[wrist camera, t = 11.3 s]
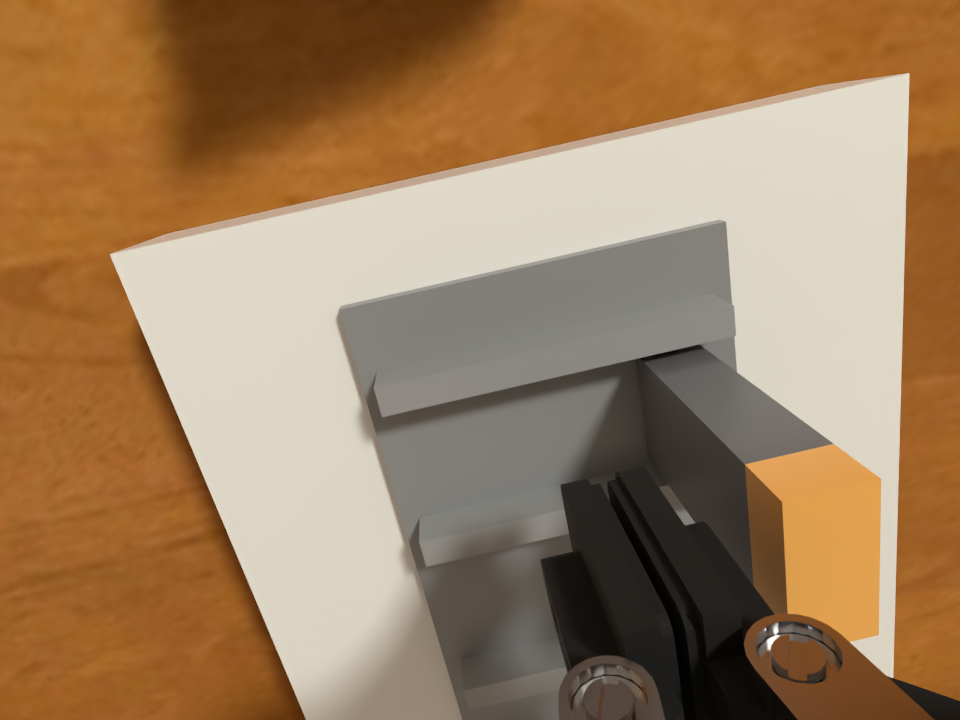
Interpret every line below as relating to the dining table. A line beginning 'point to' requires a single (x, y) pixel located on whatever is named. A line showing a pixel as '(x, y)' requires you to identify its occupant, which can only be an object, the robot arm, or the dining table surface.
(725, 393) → the toggle
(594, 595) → the robot arm
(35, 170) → the dining table surface
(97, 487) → the dining table surface
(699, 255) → the lever base
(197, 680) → the dining table surface
